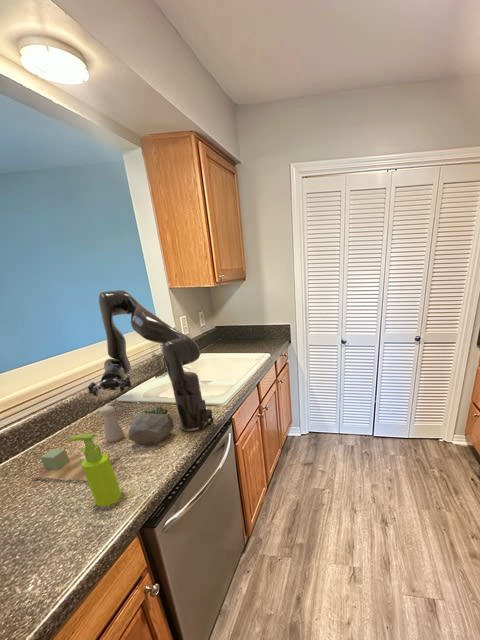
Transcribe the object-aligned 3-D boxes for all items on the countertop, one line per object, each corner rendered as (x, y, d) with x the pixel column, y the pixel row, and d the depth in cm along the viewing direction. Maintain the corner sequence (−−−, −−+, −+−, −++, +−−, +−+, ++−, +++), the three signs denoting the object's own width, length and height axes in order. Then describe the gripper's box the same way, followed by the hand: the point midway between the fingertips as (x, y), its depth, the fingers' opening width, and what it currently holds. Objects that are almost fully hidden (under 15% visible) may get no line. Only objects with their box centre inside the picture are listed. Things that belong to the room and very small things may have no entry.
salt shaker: (117, 445, 112) (106, 411, 106) (103, 444, 113) (92, 410, 108) (128, 436, 117) (119, 404, 112) (115, 435, 118) (105, 403, 113)
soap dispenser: (99, 495, 88) (75, 430, 79) (125, 493, 88) (104, 428, 80) (88, 510, 82) (61, 443, 74) (116, 508, 83) (92, 440, 75)
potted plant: (120, 441, 107) (136, 411, 119) (157, 456, 113) (169, 426, 124) (134, 420, 101) (149, 391, 113) (172, 437, 107) (183, 407, 118)
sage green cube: (70, 461, 102) (65, 449, 100) (58, 470, 98) (53, 457, 96) (57, 461, 103) (52, 448, 101) (45, 469, 98) (40, 457, 97)
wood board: (116, 459, 104) (115, 456, 103) (89, 482, 93) (88, 479, 93) (67, 456, 106) (66, 454, 106) (35, 479, 96) (33, 477, 95)
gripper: (90, 372, 128) (82, 385, 115) (130, 366, 133) (127, 378, 119) (96, 389, 131) (89, 404, 118) (134, 383, 136) (132, 397, 122)
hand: (108, 391), depth 118 cm, fingers open, 8 cm apart
